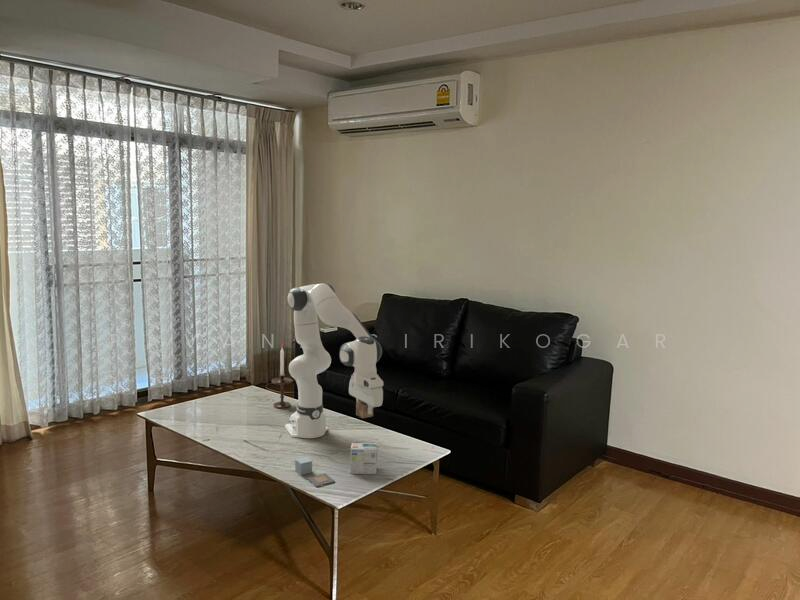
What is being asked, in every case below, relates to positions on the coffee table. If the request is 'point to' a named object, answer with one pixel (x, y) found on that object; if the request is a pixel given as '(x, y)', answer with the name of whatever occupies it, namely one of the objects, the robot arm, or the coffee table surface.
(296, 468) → the slate block
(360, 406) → the walnut block
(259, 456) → the coffee table surface
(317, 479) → the tile
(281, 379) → the candlestick
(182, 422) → the coffee table surface
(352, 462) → the light bulb box
